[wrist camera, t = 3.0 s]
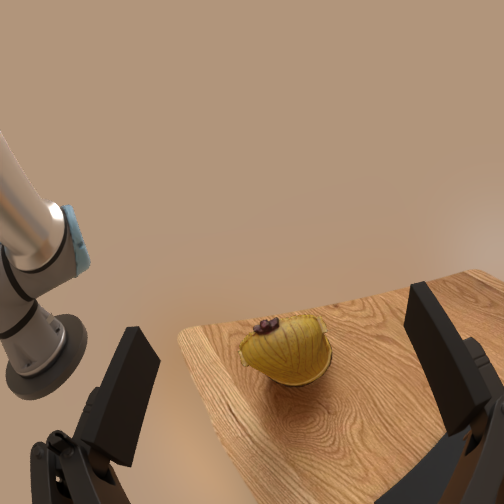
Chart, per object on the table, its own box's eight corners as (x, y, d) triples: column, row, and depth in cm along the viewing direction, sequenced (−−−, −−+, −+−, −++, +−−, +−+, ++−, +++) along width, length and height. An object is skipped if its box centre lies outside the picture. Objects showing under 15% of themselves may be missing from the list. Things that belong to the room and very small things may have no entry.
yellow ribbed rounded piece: (330, 422, 24) (329, 328, 17) (254, 420, 27) (210, 330, 19) (332, 341, 34) (326, 239, 27) (270, 343, 36) (245, 246, 29)
